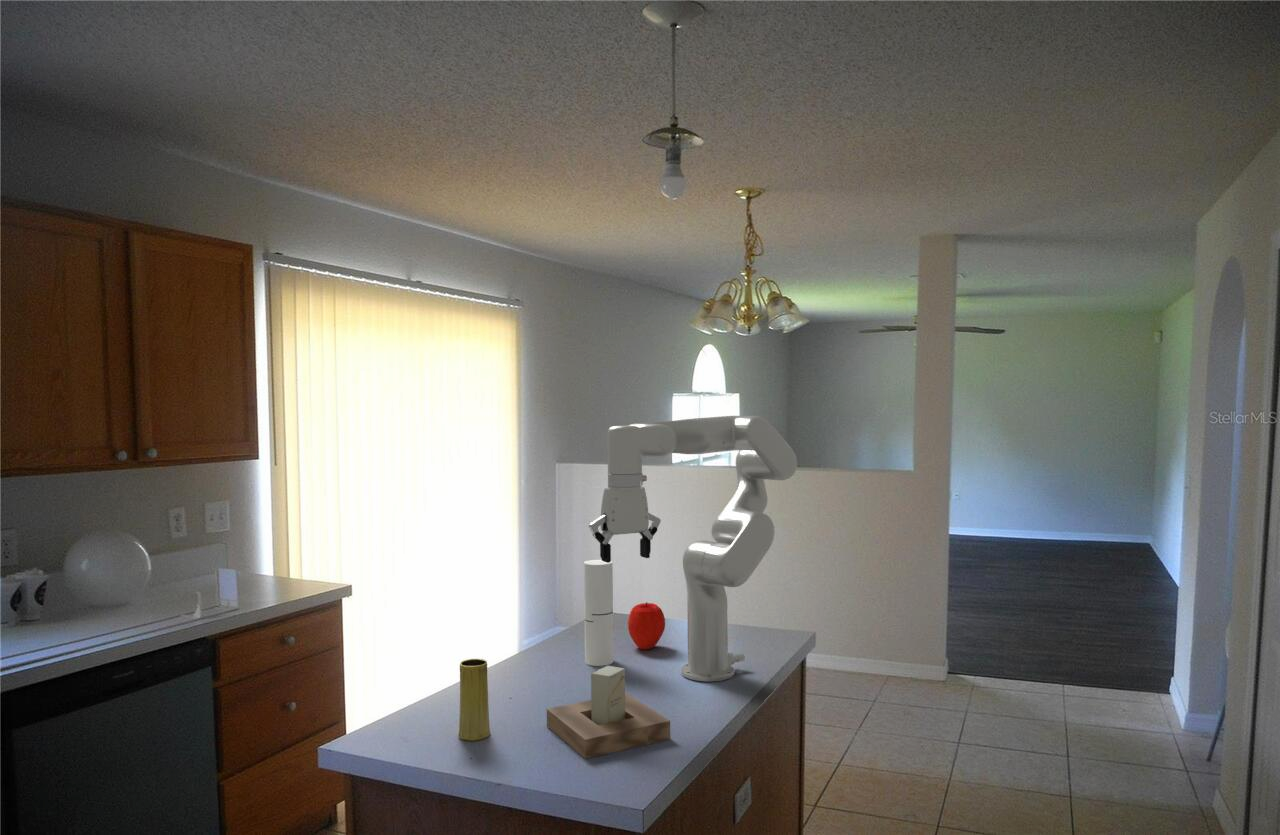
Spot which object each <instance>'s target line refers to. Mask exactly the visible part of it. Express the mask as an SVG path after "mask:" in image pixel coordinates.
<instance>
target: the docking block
mask: <svg viewBox="0 0 1280 835" xmlns="http://www.w3.org/2000/svg"><path fill="white" fill-rule="evenodd" d="M625 718H626V719H625V720H620V721H616V722H611V723H606V724H602V725H597V724H595V723H594V722H593V721H592V714H591V699H589V700H586V701H585V700H584V701H580V702H575V703H570V704H565V705H560V706H555V707H551V708H549V707H548V708H546V727H547V728H548V727H549V728H550V729H549V730H551V731H552V732H553V733H554V734H555V733H556V736H558V737H559V738H560V739H561V740H563V741H564V742H565V743H566V744H567V745H569V747H571V748H572V749H573V750H574V751H575V752H577V754H579V755H580V756H581V757H583V758H584V759H585V760H586V759H590V758H594V757H598V756H603V755H608V754H611V753H617V752H621V751H624V750H628V749H633V748H638V747H641V746H645V745H650V744H655V743H658V742H663V741H667V740H671V720H670V719H667V717H664V716H663V715H662V714H660V713H659V712H657V711H655V710H654V709H652V708H650V707H648V705H645V704H644V703H642V702H641V701H639V700H637V699H636V698H635V697H633V696H631V695H629V694H627V693H626V692H625Z"/></svg>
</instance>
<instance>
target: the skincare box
mask: <svg viewBox="0 0 1280 835" xmlns="http://www.w3.org/2000/svg"><path fill="white" fill-rule="evenodd" d="M625 672H626V671H625V667H624V668H623V667H618V666H611V665H605V666H602V668H599V669H597V670H595V671H593V672H591V673H590V685H591V686H590V690H591V691H590V694H591V696H590V698H591V699H590V700H591V714H592V721H593V722H594V723H595V724H597V725H602V724H606V723H611V722H616V721H620V720H625V719H626V718H625V693H626V673H625Z"/></svg>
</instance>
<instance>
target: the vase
mask: <svg viewBox="0 0 1280 835" xmlns="http://www.w3.org/2000/svg"><path fill="white" fill-rule="evenodd" d="M488 682H489V681H488V662H487V660H486V659H483V658H470V659H465V660H462V661H461V662H460V663H459V726H458V727H459V729H458V734H457V735H458V738H459V739H460V740H463V741H467V742H468V741H469V742H474V741H481V740H485V739H486V738H488V737H489V736H490V735H491V731H490V730H491V728H490V712H489V688H488V687H489V685H488Z"/></svg>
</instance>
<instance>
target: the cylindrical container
mask: <svg viewBox="0 0 1280 835" xmlns="http://www.w3.org/2000/svg"><path fill="white" fill-rule="evenodd" d="M613 573H614V570H613V561H612V560H611V562H609V563H607V562H604V561H602V559H591V560H585V561H583V589H584V591H583V596H584V597H583V602H584V603H583V604H584V606H583V608H584V614H583V615H584V663H585V664H586V665H588V666H591V667H594V666H595V667H605V666H610V665H612V664H613V663H614V599H613V598H614V594H613V592H614V591H613V590H614V589H613V587H614V583H613V582H614V581H613V580H614V579H613V578H614V577H613ZM604 665H605V666H604Z"/></svg>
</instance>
